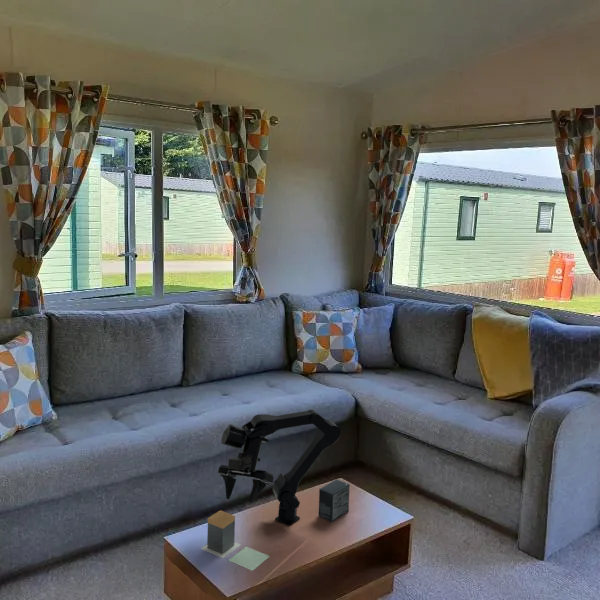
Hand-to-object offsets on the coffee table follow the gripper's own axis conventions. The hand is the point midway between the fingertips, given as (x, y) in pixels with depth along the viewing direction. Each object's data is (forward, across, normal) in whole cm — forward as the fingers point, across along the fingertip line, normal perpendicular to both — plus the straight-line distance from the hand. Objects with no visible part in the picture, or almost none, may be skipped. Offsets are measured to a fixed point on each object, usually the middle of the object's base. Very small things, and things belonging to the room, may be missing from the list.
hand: (239, 501), depth 188 cm
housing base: (+14, -3, +1) cm, 15 cm away
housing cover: (+7, -2, -4) cm, 8 cm away
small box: (-4, +16, +36) cm, 40 cm away
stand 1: (+15, -3, +1) cm, 16 cm away
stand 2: (+16, +8, +2) cm, 18 cm away
